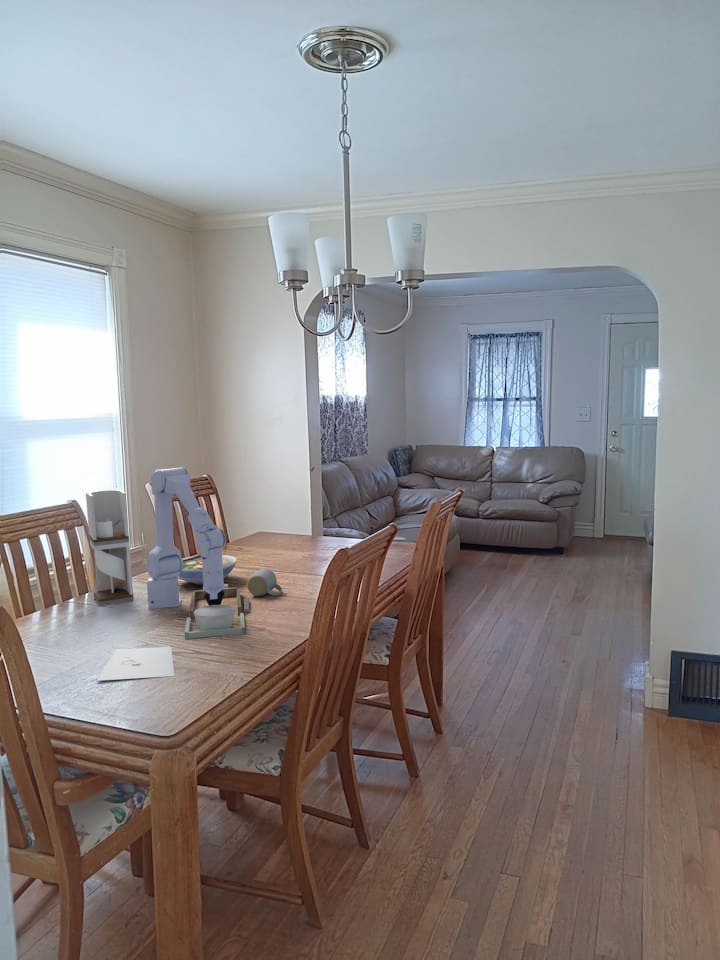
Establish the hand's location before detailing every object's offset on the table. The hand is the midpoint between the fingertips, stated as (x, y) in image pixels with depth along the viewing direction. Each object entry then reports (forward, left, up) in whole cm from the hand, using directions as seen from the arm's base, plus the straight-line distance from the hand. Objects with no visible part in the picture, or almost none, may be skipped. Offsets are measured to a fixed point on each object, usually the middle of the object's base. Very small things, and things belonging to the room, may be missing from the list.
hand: (215, 616), depth 209 cm
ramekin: (0, -8, -1) cm, 8 cm away
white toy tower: (-33, +33, -1) cm, 47 cm away
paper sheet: (-12, -30, -2) cm, 33 cm away
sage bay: (0, -7, -1) cm, 7 cm away
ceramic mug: (+16, +24, -1) cm, 29 cm away
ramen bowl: (-4, +45, -1) cm, 45 cm away
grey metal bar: (+9, +11, -1) cm, 14 cm away
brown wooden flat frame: (0, +14, -1) cm, 14 cm away
